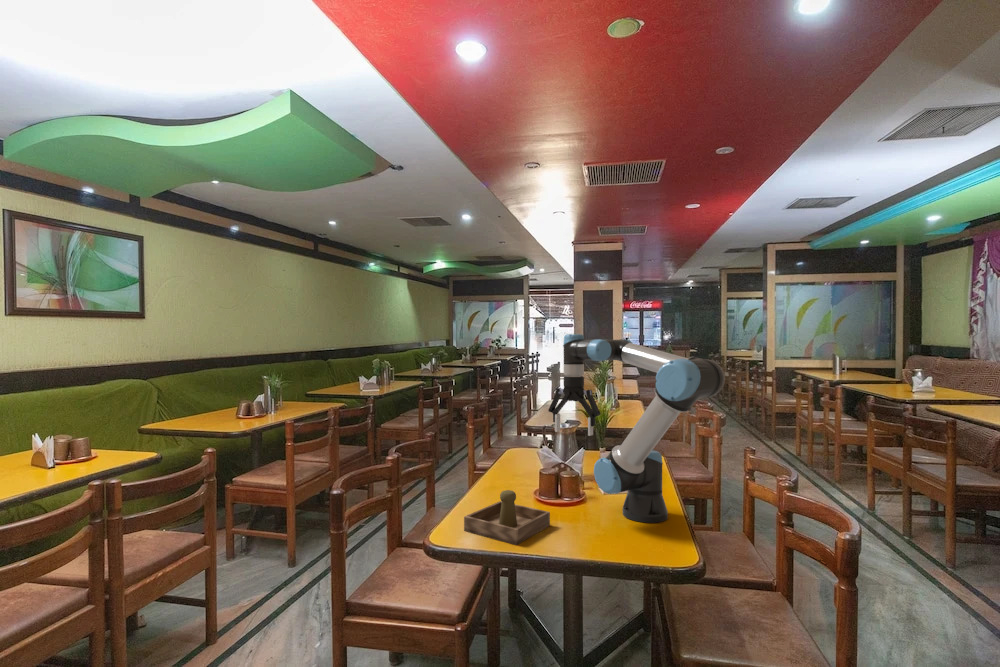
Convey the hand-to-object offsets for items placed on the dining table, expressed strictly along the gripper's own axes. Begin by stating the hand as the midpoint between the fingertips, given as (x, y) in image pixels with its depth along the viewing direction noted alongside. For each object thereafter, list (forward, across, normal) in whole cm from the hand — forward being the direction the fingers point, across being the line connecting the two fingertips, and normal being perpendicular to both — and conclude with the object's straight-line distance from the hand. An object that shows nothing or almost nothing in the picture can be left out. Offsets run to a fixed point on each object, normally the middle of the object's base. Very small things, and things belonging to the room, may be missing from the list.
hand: (573, 433), depth 190 cm
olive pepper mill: (+26, +7, +33) cm, 42 cm away
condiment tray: (+27, +7, +33) cm, 43 cm away
